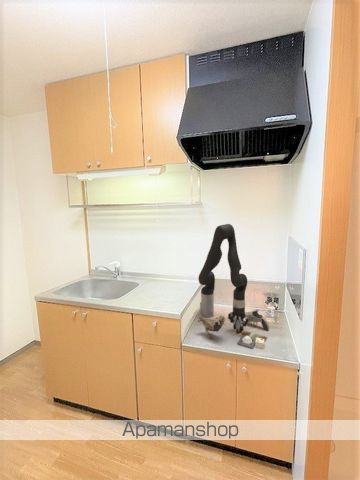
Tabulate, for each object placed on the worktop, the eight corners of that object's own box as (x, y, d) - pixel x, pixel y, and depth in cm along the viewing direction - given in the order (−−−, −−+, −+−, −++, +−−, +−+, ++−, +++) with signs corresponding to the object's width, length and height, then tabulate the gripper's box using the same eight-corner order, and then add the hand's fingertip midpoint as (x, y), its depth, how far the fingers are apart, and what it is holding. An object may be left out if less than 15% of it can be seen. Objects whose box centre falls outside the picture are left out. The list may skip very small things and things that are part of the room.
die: (255, 348, 139) (255, 341, 138) (256, 344, 143) (256, 337, 142) (263, 350, 137) (263, 343, 137) (264, 346, 141) (264, 338, 141)
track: (233, 334, 154) (233, 332, 154) (236, 329, 159) (236, 328, 159) (265, 343, 144) (265, 342, 143) (267, 338, 148) (267, 337, 148)
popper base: (237, 346, 142) (237, 342, 142) (242, 338, 149) (242, 335, 149) (252, 350, 137) (252, 347, 137) (256, 342, 145) (256, 339, 144)
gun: (268, 332, 153) (260, 310, 155) (232, 334, 170) (225, 314, 172) (271, 329, 157) (263, 307, 159) (236, 331, 174) (229, 311, 176)
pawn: (234, 332, 155) (234, 319, 153) (236, 329, 158) (237, 316, 156) (239, 333, 153) (239, 320, 151) (242, 331, 155) (242, 318, 154)
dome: (241, 344, 143) (241, 337, 142) (244, 340, 147) (244, 332, 146) (250, 347, 140) (250, 339, 139) (253, 343, 144) (253, 335, 143)
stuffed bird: (225, 346, 142) (225, 319, 139) (193, 339, 150) (193, 313, 147) (229, 337, 151) (229, 312, 148) (199, 330, 159) (199, 306, 156)
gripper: (226, 304, 153) (225, 329, 156) (248, 310, 145) (247, 336, 148) (230, 300, 159) (230, 324, 162) (251, 305, 151) (251, 330, 154)
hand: (238, 330), depth 155 cm, fingers closed on pawn, 3 cm apart
